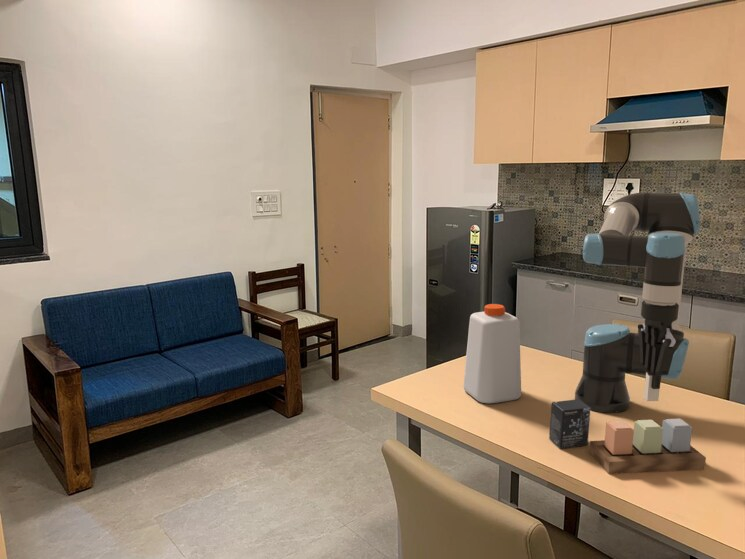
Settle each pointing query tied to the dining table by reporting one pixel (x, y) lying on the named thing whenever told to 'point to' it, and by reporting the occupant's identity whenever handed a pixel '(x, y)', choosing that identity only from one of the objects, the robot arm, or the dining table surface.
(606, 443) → the salmon pink block
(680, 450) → the slate button
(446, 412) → the dining table surface
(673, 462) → the wooden tray
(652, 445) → the sage button
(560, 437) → the box
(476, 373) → the plastic bottle
